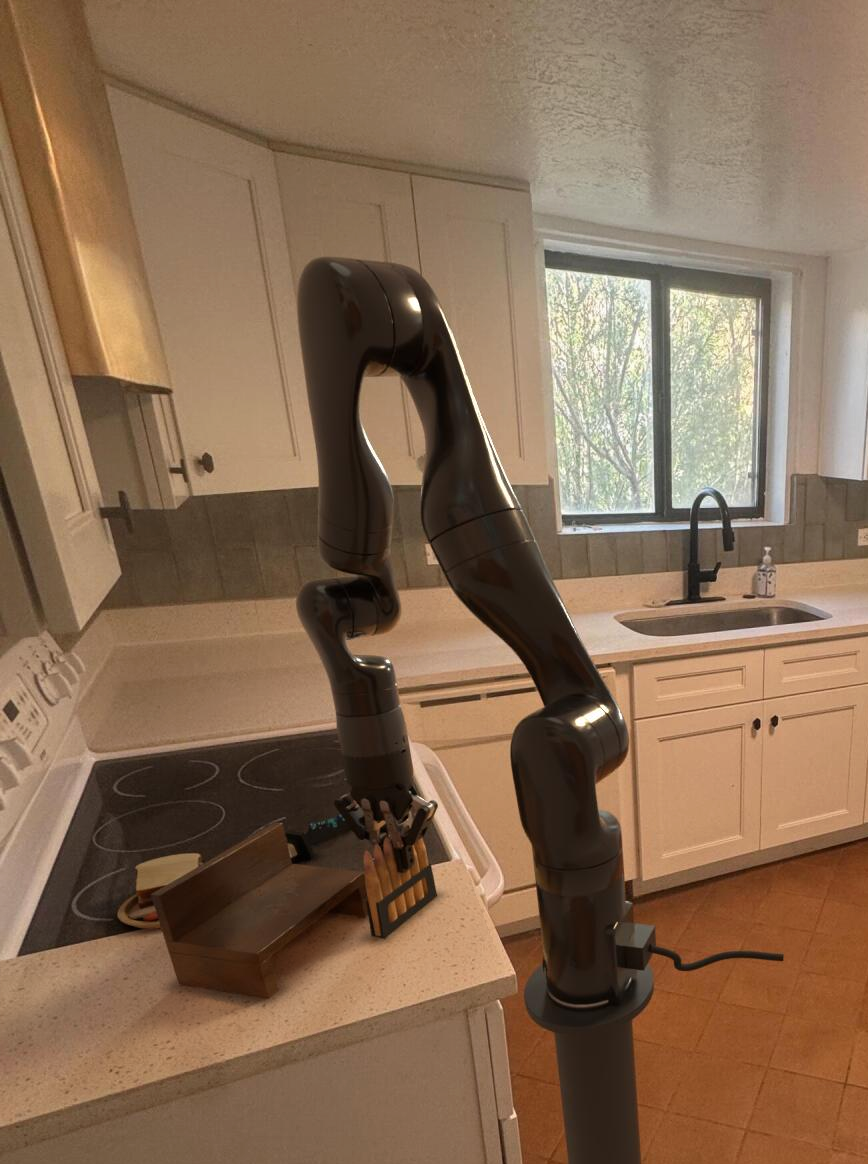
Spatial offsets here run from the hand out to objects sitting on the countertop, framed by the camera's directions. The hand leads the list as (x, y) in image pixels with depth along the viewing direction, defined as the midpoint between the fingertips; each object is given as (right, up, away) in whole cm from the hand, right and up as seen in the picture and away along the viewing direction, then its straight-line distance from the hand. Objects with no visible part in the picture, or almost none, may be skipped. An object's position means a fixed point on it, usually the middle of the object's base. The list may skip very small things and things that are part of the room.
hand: (397, 868), depth 100 cm
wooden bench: (-13, -9, -4) cm, 16 cm away
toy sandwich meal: (-32, -6, +5) cm, 33 cm away
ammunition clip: (0, -7, +3) cm, 7 cm away
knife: (-21, 0, +20) cm, 29 cm away
